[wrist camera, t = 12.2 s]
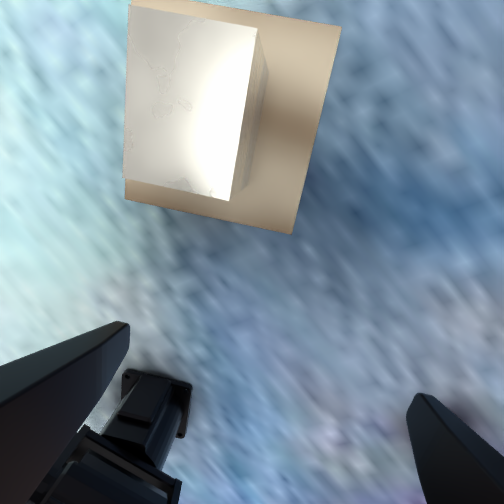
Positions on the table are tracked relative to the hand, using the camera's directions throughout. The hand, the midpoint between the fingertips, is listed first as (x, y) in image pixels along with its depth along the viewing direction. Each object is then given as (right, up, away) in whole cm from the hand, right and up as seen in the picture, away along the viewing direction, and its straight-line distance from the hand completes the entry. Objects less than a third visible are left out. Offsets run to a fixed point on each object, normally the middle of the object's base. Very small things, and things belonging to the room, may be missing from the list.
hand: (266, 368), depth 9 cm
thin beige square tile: (-2, +12, +10) cm, 16 cm away
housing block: (-2, +11, +8) cm, 14 cm away
